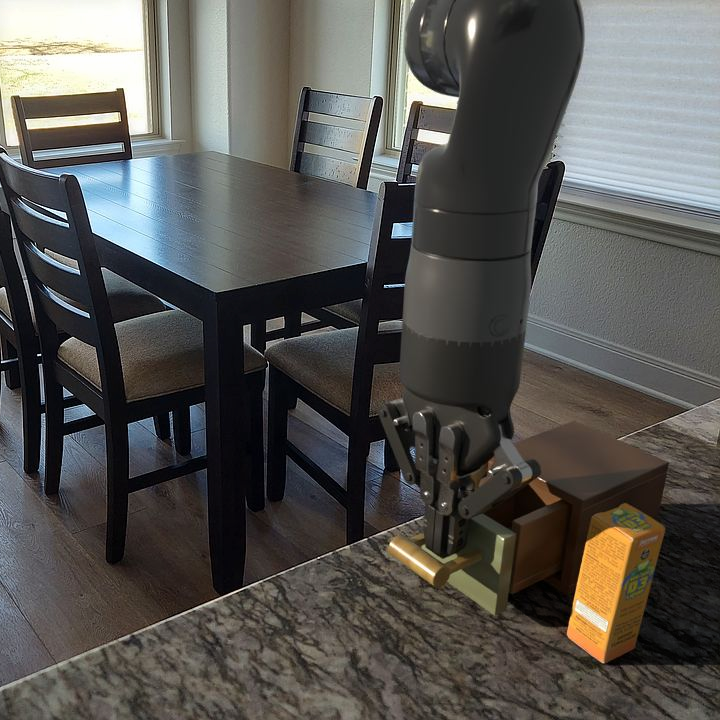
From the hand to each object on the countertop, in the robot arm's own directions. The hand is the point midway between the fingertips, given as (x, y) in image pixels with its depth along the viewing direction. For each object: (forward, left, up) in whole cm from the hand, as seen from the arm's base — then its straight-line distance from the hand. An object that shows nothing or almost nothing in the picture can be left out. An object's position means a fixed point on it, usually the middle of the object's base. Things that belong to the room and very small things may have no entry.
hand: (443, 549), depth 60 cm
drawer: (-4, -1, -4) cm, 5 cm away
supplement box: (-8, +7, -5) cm, 12 cm away
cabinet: (-14, -3, -5) cm, 15 cm away
